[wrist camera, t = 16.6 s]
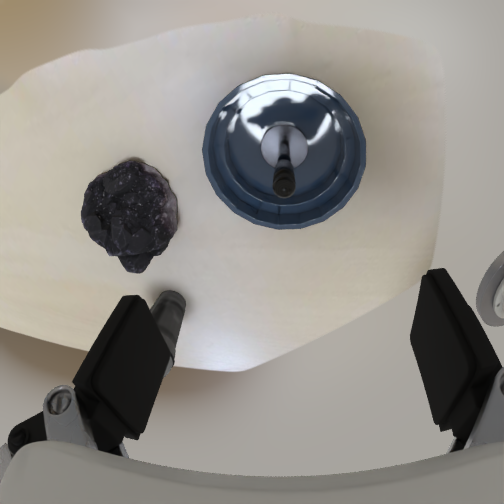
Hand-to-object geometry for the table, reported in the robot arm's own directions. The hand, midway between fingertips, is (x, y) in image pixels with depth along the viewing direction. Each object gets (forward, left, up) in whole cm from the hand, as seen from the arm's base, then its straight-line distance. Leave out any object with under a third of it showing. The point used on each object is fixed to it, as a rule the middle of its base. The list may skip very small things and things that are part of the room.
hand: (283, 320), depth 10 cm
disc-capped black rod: (0, 0, -28) cm, 28 cm away
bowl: (0, 0, -28) cm, 28 cm away
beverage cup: (+2, +30, -28) cm, 41 cm away
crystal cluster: (+13, +17, -28) cm, 36 cm away
